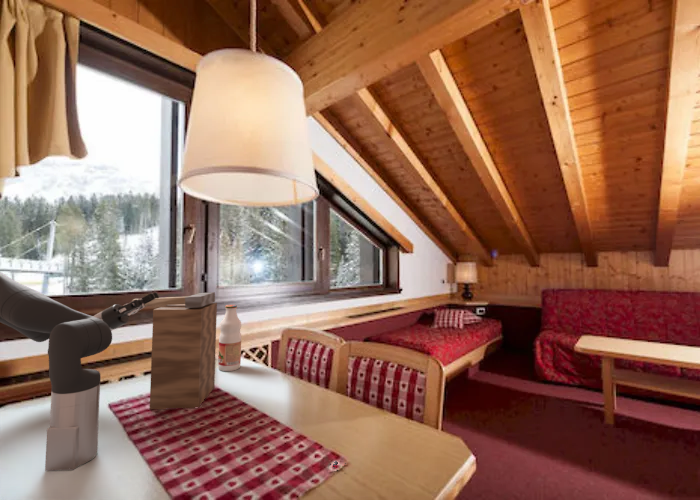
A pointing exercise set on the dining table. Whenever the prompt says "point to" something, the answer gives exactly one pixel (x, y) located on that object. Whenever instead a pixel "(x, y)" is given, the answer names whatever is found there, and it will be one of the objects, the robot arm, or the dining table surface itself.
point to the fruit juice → (230, 341)
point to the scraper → (185, 300)
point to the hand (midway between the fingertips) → (155, 295)
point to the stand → (182, 355)
